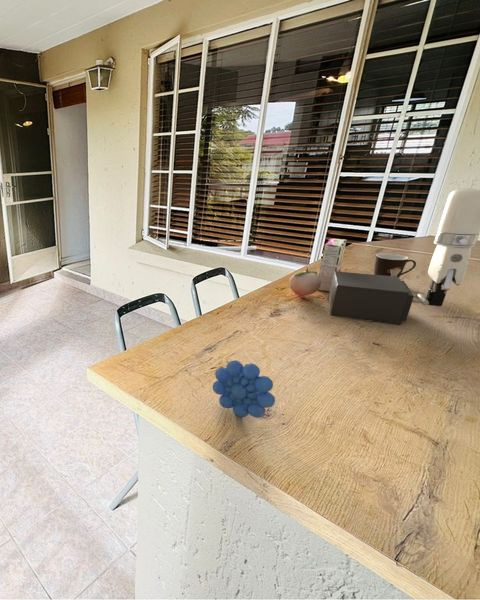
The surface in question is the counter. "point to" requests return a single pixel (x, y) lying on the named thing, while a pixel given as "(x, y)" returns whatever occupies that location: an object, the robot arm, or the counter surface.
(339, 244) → the candy bar box
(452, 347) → the counter surface
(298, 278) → the decorative fruit
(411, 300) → the drawer
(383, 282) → the cabinet
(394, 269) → the coffee mug
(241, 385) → the blue bumpy cluster
